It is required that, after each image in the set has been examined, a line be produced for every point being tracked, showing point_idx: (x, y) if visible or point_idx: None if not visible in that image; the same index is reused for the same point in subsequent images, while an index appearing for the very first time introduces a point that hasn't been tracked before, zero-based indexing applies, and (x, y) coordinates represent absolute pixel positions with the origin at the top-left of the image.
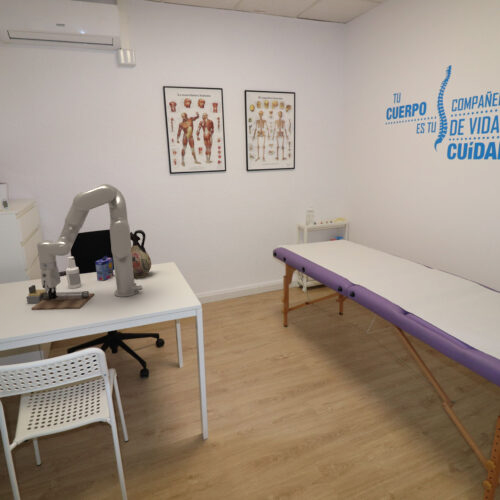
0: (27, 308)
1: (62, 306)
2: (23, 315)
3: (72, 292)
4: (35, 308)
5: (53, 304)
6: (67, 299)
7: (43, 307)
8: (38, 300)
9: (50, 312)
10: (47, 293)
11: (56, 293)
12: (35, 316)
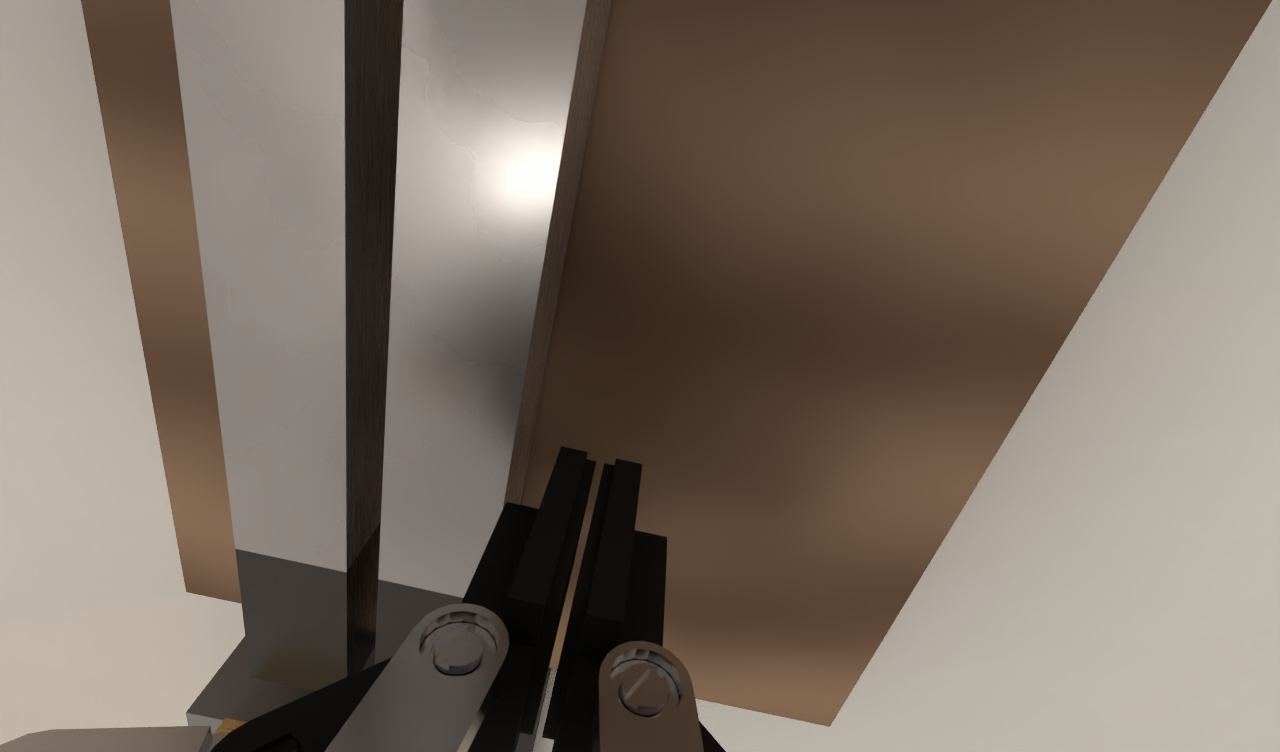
0: (726, 743)
1: (1102, 177)
2: (1018, 741)
3: (247, 5)
4: (855, 671)
5: (812, 432)
6: (582, 150)
7: (906, 575)
8: (540, 708)
9: (1173, 400)
10: (318, 676)
11: (330, 511)
12: (1205, 601)
